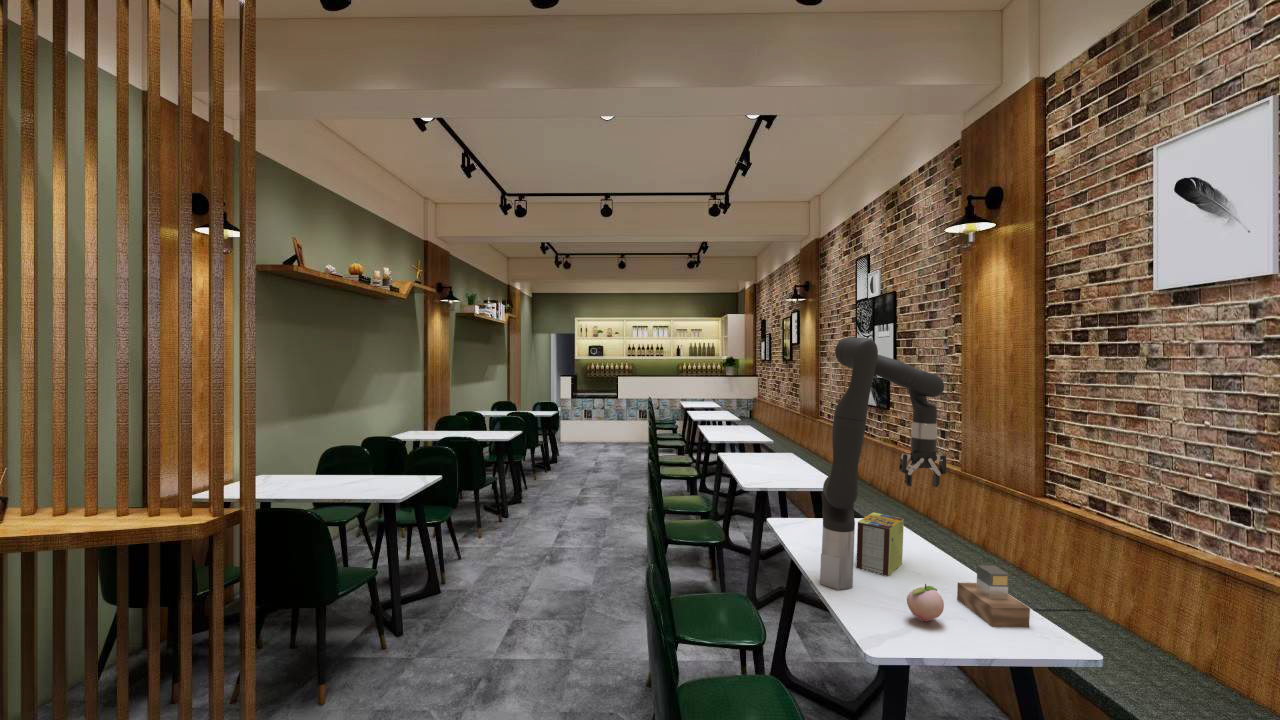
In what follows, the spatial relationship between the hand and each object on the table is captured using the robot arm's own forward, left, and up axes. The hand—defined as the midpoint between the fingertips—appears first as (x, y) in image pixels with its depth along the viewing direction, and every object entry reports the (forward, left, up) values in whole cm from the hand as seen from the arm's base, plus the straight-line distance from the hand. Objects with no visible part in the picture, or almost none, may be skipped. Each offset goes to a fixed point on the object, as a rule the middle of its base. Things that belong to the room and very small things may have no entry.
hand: (921, 486), depth 189 cm
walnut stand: (-15, -25, -28) cm, 40 cm away
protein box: (-5, +11, -28) cm, 31 cm away
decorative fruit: (-35, -15, -28) cm, 47 cm away
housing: (-15, -25, -23) cm, 37 cm away
